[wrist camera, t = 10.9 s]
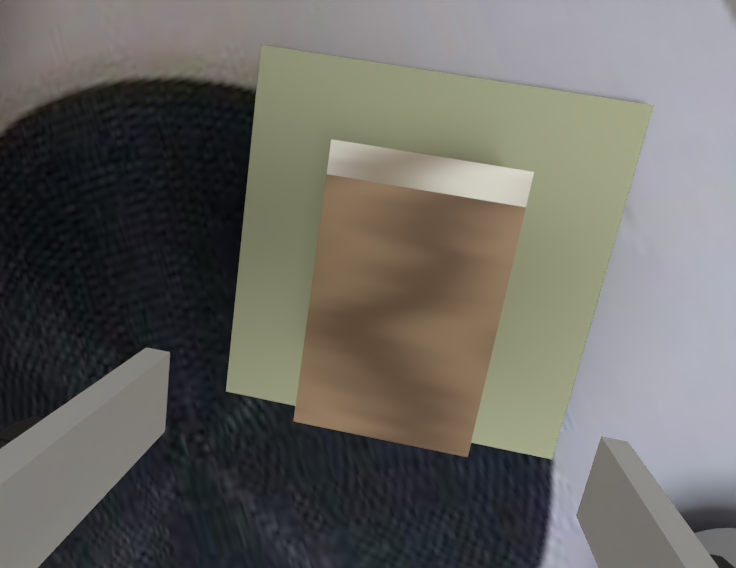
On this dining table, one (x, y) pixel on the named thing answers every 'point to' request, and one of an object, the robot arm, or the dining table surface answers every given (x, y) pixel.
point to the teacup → (720, 542)
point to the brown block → (407, 294)
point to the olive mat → (450, 140)
